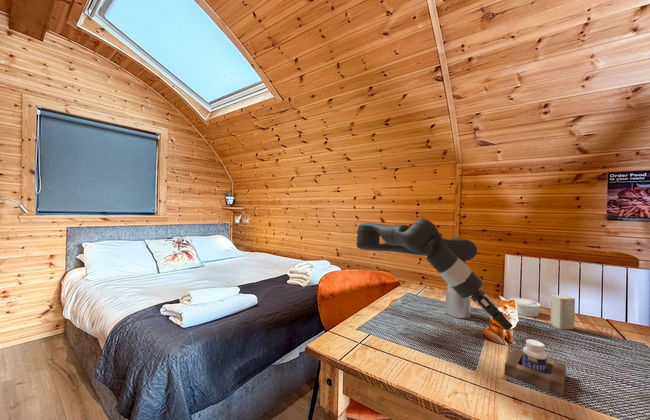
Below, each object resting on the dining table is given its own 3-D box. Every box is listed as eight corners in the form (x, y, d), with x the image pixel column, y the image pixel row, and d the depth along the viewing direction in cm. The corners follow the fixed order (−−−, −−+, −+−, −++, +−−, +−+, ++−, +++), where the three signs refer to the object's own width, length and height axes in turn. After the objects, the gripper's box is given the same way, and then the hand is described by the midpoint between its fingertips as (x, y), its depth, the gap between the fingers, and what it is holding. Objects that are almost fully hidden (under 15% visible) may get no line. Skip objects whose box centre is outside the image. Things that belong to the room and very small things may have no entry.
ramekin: (542, 320, 113) (542, 307, 113) (510, 314, 119) (510, 302, 119) (538, 312, 122) (538, 300, 122) (509, 307, 128) (509, 296, 128)
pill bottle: (526, 377, 72) (526, 345, 72) (519, 367, 77) (520, 336, 77) (550, 382, 71) (550, 349, 71) (541, 371, 75) (542, 340, 75)
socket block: (504, 374, 74) (504, 363, 74) (513, 358, 82) (513, 348, 82) (562, 396, 65) (563, 384, 65) (565, 375, 74) (566, 364, 74)
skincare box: (564, 324, 109) (565, 294, 109) (575, 329, 104) (575, 298, 104) (549, 324, 108) (550, 294, 108) (559, 329, 104) (560, 298, 104)
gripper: (445, 279, 85) (484, 319, 83) (454, 292, 72) (501, 341, 69) (463, 264, 84) (504, 304, 81) (477, 274, 70) (526, 323, 67)
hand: (503, 321), depth 75 cm, fingers open, 8 cm apart
